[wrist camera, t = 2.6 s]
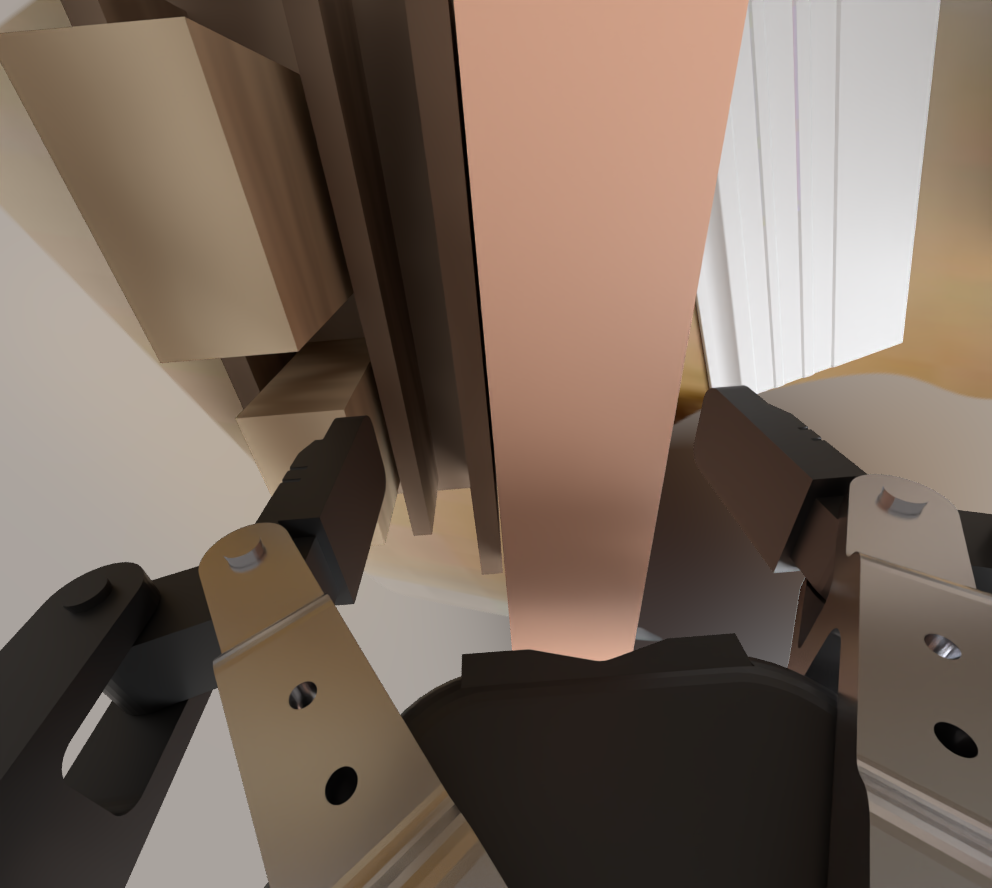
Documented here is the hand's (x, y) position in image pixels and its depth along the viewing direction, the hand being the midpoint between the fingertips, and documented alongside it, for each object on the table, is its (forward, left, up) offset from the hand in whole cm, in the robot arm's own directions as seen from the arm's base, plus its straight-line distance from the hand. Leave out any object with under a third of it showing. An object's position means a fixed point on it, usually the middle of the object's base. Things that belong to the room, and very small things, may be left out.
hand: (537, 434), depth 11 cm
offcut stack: (+8, 0, -13) cm, 16 cm away
